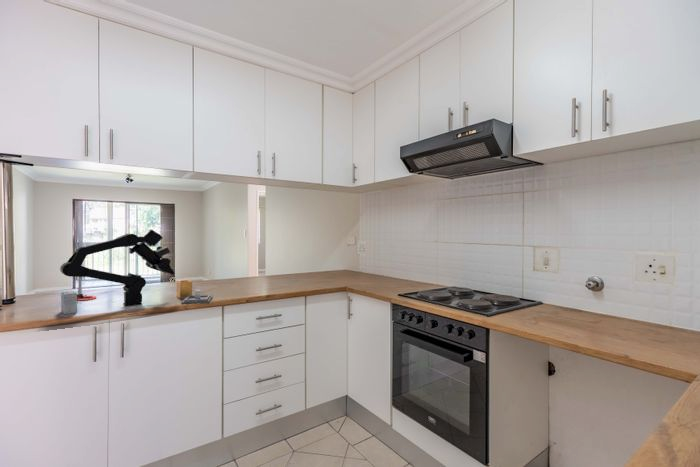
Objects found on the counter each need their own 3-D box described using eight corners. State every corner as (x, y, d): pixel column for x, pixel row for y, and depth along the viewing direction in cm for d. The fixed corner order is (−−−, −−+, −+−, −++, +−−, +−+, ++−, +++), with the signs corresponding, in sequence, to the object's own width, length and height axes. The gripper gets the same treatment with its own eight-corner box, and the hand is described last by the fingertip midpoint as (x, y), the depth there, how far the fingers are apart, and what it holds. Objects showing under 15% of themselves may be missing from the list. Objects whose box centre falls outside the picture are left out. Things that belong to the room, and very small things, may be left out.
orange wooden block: (180, 298, 169) (180, 282, 169) (176, 296, 173) (176, 281, 173) (192, 296, 173) (192, 281, 173) (188, 295, 177) (188, 279, 177)
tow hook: (100, 299, 169) (86, 297, 171) (101, 274, 168) (87, 273, 170) (83, 302, 160) (69, 300, 163) (84, 277, 160) (70, 275, 162)
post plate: (181, 303, 157) (181, 293, 157) (187, 298, 169) (187, 288, 169) (208, 302, 160) (208, 292, 160) (212, 297, 172) (212, 287, 172)
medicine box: (77, 312, 139) (77, 293, 139) (63, 314, 136) (63, 294, 136) (74, 309, 144) (74, 290, 144) (61, 311, 141) (60, 291, 141)
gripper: (166, 242, 157) (189, 262, 166) (152, 240, 169) (174, 260, 178) (148, 259, 151) (172, 279, 160) (135, 256, 163) (158, 275, 172)
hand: (170, 273), depth 168 cm, fingers open, 9 cm apart
